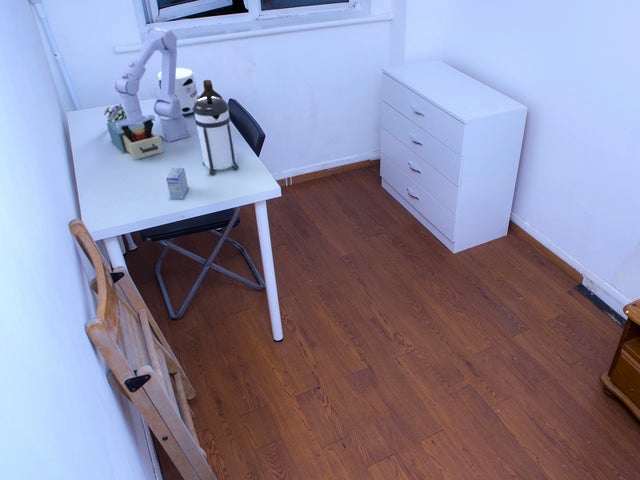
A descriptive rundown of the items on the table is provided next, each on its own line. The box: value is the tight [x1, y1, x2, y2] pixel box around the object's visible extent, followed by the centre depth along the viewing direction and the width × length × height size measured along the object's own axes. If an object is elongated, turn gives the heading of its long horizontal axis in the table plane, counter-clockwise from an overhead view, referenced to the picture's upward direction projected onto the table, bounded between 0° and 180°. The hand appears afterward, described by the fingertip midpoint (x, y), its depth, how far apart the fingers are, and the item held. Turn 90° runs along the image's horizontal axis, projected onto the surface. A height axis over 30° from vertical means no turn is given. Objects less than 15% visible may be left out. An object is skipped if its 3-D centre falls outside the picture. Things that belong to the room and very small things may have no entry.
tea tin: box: [132, 128, 146, 142], centre depth 221 cm, size 5×5×8 cm
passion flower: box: [103, 103, 127, 123], centre depth 242 cm, size 11×11×12 cm
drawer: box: [121, 130, 164, 161], centre depth 221 cm, size 16×12×7 cm
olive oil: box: [198, 79, 224, 100], centre depth 231 cm, size 11×11×25 cm
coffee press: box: [193, 93, 240, 176], centre depth 209 cm, size 17×16×30 cm
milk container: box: [157, 67, 200, 116], centre depth 255 cm, size 17×17×18 cm
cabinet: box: [106, 118, 153, 154], centre depth 229 cm, size 13×13×8 cm
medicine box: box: [166, 167, 189, 200], centre depth 197 cm, size 8×4×9 cm, turn 5°
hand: (140, 141), depth 221 cm, fingers open, 6 cm apart
